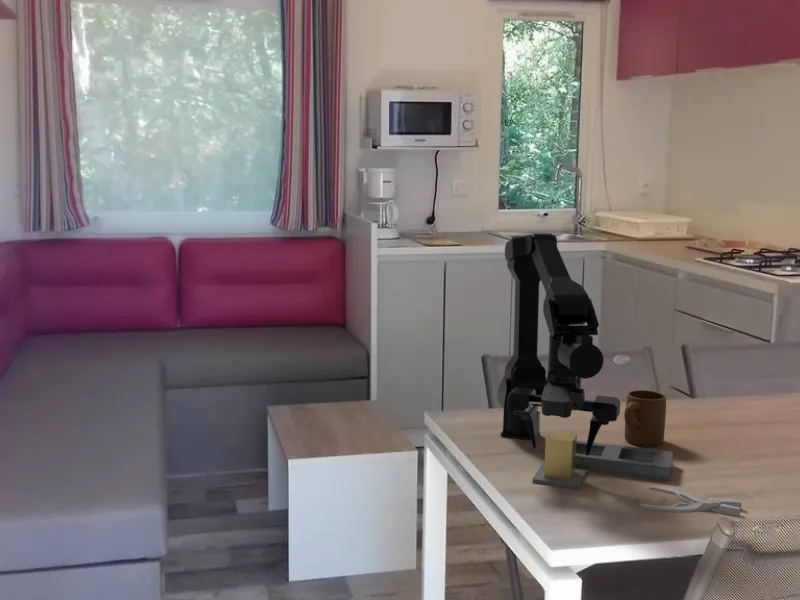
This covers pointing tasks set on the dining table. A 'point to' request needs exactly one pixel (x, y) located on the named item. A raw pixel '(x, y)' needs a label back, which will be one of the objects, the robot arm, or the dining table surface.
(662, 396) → the mug
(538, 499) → the dining table surface
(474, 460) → the dining table surface
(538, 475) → the pad
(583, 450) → the grey flat frame
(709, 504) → the pliers
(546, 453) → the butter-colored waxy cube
